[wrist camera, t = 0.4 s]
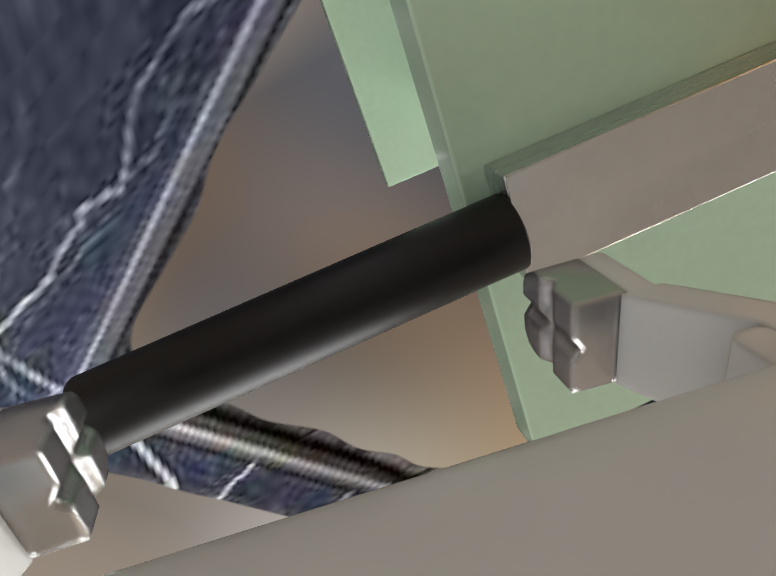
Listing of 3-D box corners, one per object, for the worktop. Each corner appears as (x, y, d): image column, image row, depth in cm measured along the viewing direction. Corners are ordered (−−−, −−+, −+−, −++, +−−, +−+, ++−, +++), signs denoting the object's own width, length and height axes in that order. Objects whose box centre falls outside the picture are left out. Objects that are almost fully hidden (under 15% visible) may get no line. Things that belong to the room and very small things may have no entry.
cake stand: (369, 217, 41) (606, 555, 15) (264, -55, 32) (398, -385, 6) (581, 127, 42) (1139, 295, 16) (536, -161, 33) (1628, -820, 7)
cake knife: (132, 432, 14) (117, 488, 13) (61, 345, 13) (35, 396, 11) (938, 74, 16) (1025, 80, 14) (958, -39, 14) (1057, -48, 13)
